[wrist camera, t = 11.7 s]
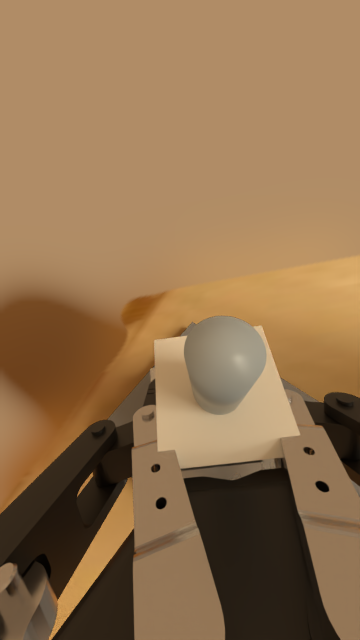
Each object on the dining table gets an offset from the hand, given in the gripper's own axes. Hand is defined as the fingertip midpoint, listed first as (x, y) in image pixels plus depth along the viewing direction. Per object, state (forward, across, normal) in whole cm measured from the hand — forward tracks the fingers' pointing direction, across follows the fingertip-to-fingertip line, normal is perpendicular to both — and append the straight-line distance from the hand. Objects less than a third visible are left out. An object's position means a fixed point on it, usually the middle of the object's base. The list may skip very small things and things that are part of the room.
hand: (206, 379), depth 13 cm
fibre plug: (+1, 0, +4) cm, 5 cm away
